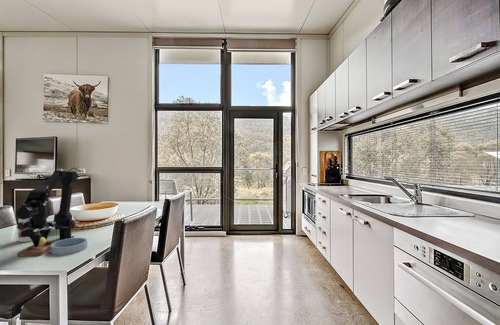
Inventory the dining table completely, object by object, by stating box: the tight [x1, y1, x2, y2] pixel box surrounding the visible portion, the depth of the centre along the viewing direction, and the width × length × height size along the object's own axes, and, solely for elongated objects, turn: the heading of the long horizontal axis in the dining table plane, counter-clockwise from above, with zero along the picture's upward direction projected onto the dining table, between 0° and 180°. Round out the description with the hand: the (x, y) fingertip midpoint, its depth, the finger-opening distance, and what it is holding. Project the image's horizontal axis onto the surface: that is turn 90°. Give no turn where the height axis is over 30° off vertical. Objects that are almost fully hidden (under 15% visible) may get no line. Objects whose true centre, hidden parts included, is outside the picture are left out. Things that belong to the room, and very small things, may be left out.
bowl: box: [50, 237, 88, 256], centre depth 137 cm, size 16×16×4 cm
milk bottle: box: [17, 218, 33, 243], centre depth 152 cm, size 8×8×20 cm
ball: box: [38, 237, 47, 247], centre depth 135 cm, size 5×5×5 cm
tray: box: [16, 240, 58, 258], centre depth 135 cm, size 16×10×2 cm, turn 8°
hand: (39, 245), depth 135 cm, fingers closed on ball, 5 cm apart
